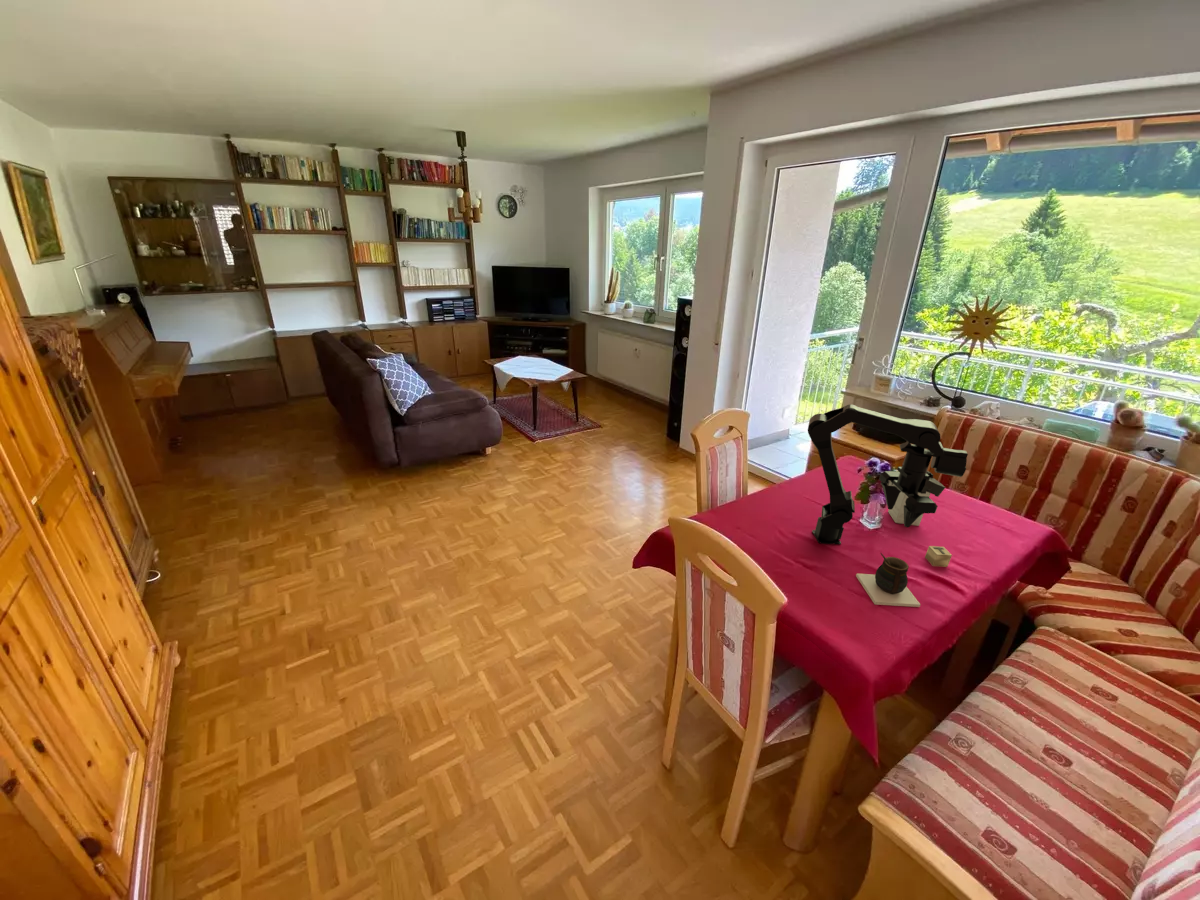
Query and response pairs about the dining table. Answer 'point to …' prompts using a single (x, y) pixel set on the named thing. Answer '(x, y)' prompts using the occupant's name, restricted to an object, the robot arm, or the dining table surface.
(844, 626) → the dining table surface
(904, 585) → the mate gourd
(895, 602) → the cream square tile
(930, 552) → the letter cube
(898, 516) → the supplement box
